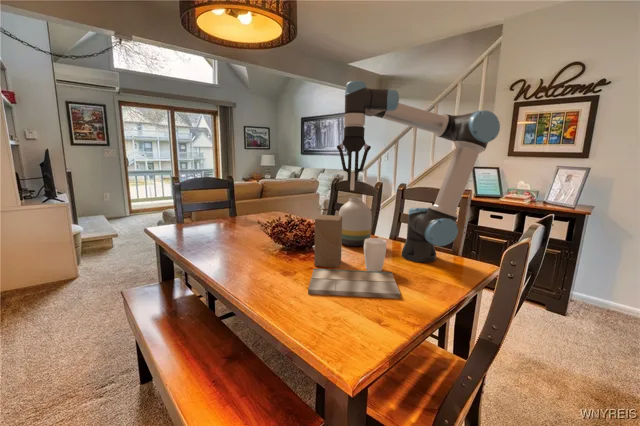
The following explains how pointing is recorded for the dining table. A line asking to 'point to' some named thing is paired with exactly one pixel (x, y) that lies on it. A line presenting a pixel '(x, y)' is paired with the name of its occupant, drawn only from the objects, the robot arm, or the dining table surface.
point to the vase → (355, 222)
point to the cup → (374, 253)
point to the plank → (352, 275)
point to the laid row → (353, 288)
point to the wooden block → (328, 240)
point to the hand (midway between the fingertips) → (352, 189)
